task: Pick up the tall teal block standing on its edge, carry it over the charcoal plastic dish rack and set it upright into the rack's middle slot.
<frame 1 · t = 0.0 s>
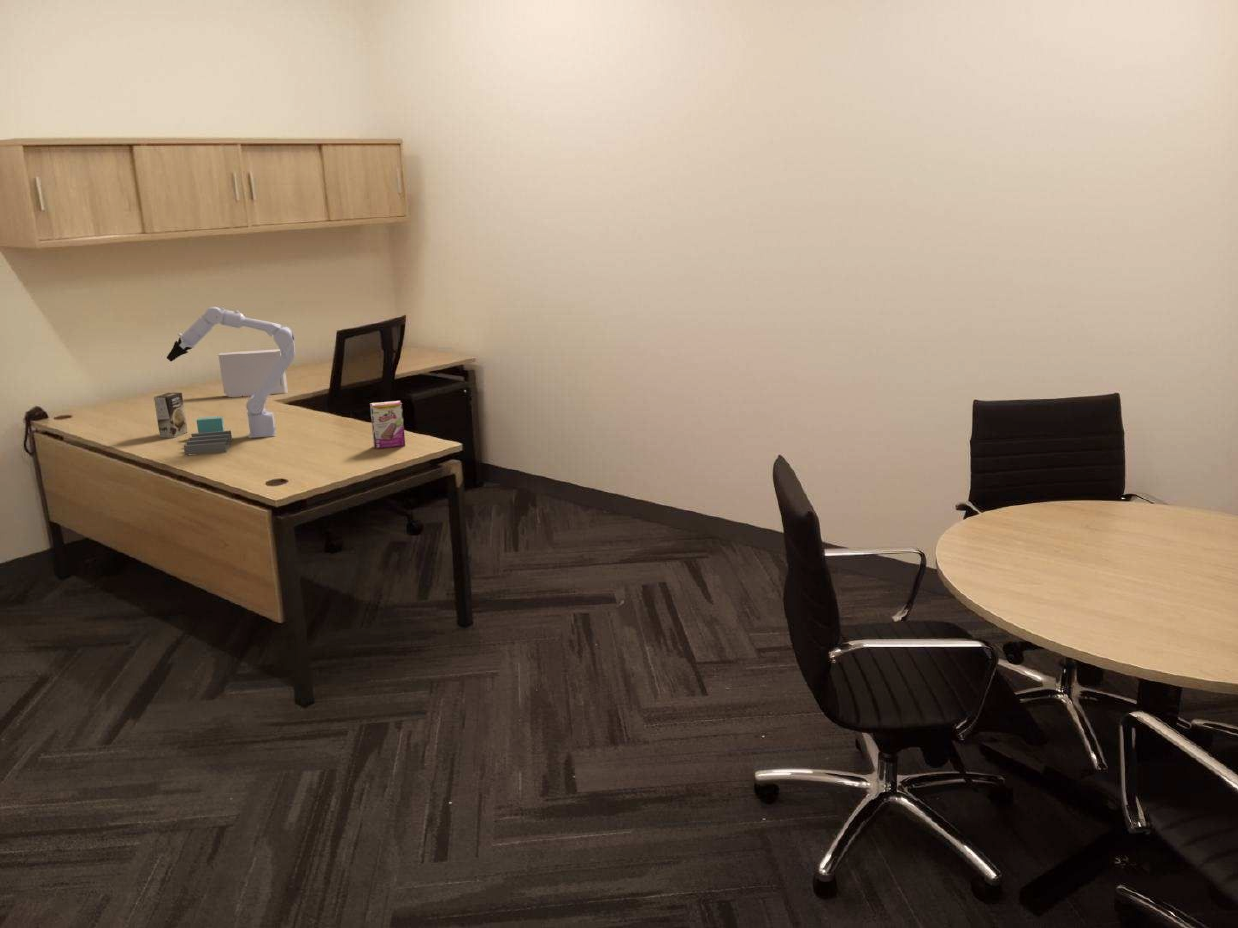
hand: (170, 357, 359), 32 cm above the table, tool tilted 50°, fingers open, 7 cm apart
rack: (209, 447, 359), on the table
tall teal block: (212, 436, 374), on the table
candy bar box: (389, 446, 355), on the table
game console: (256, 395, 445), on the table
coffee box: (174, 435, 378), on the table
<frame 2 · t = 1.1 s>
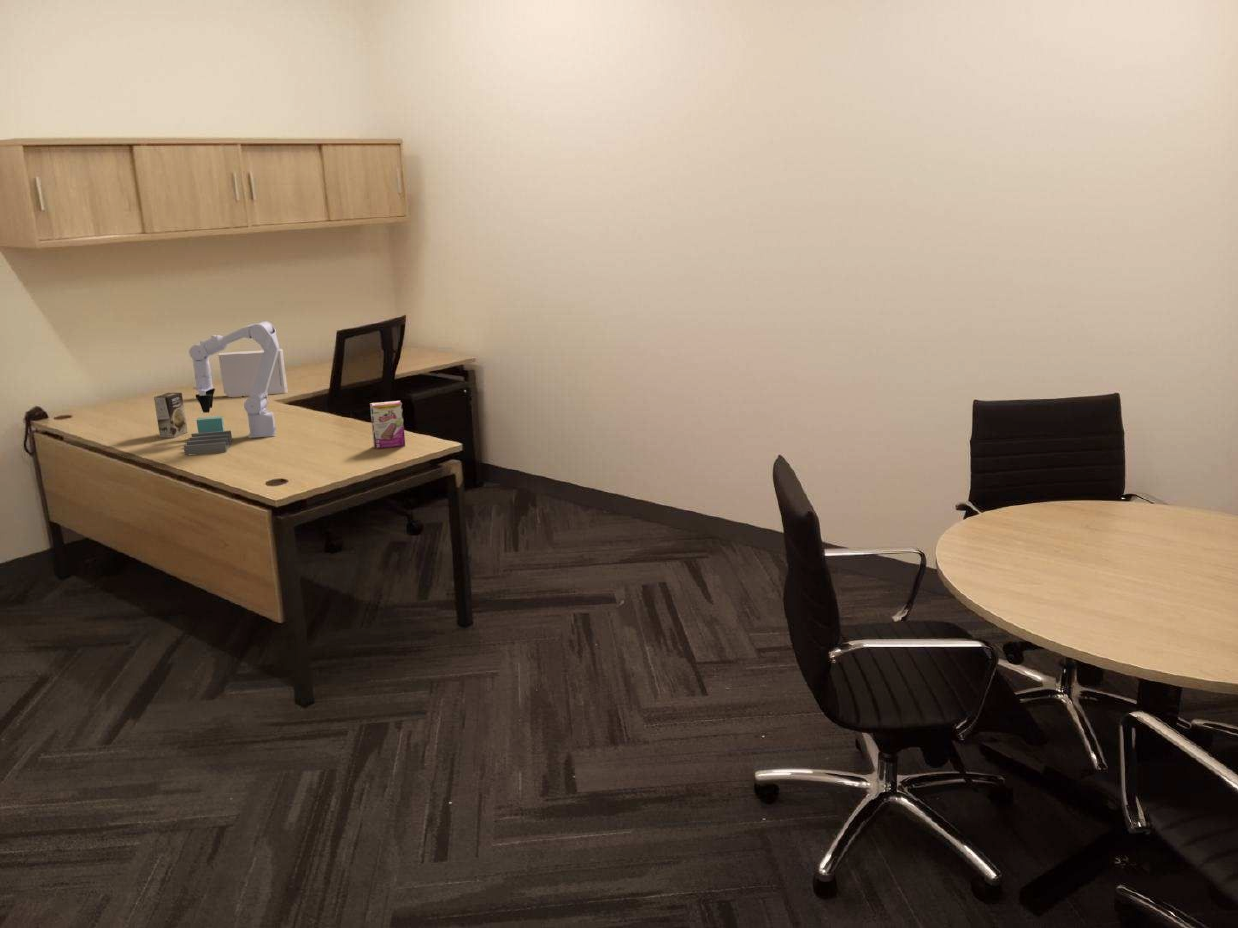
hand: (207, 410, 371), 11 cm above the table, tool pointing down, fingers open, 7 cm apart
nothing on the table moved.
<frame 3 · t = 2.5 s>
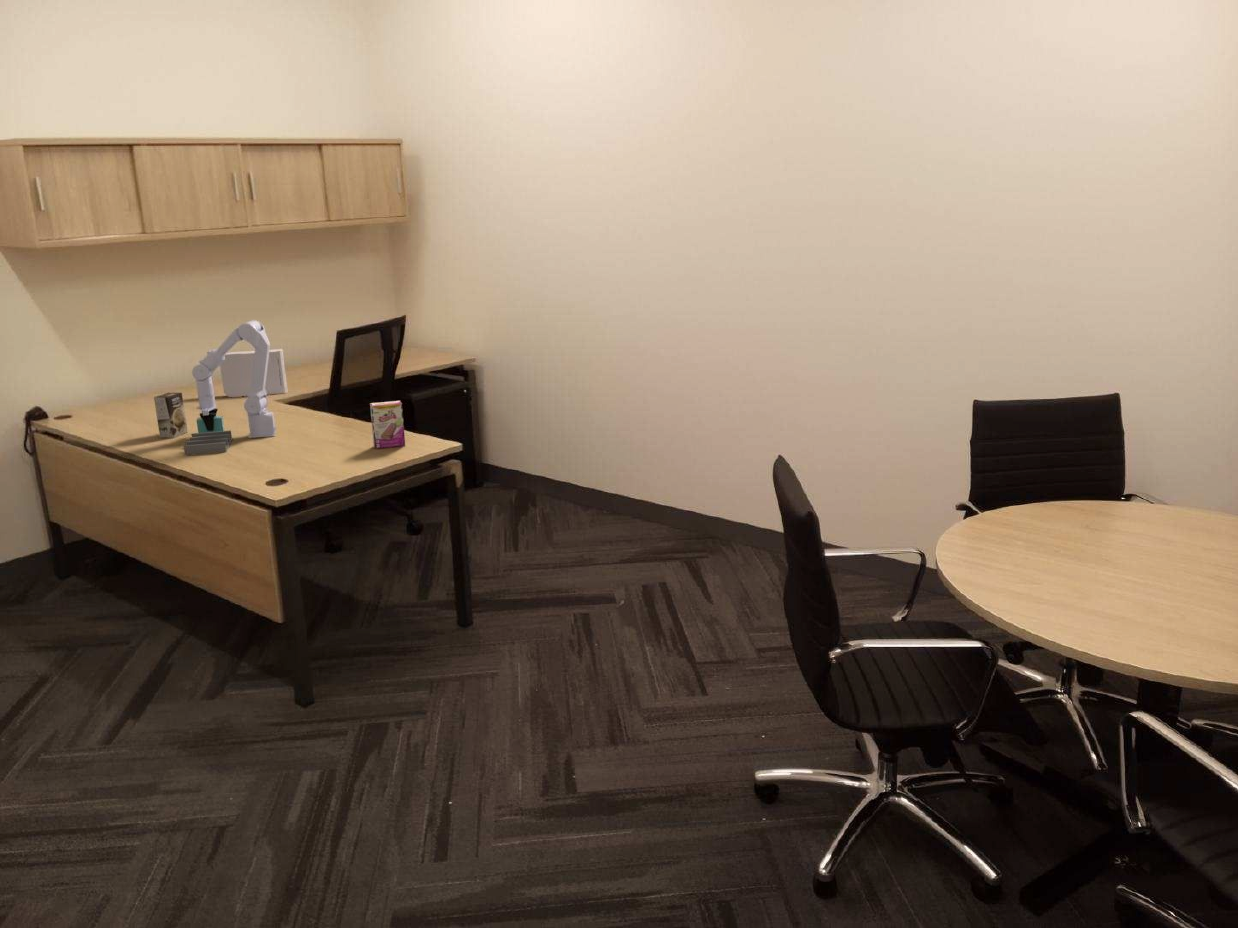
hand: (211, 429, 373), 3 cm above the table, tool pointing down, fingers closed on tall teal block, 3 cm apart
tall teal block: (212, 436, 374), on the table, touching gripper
everything else where it was.
when the fingers open (5 cm above the table, at t = 6.2 s): tall teal block stays where it is, resting on rack.
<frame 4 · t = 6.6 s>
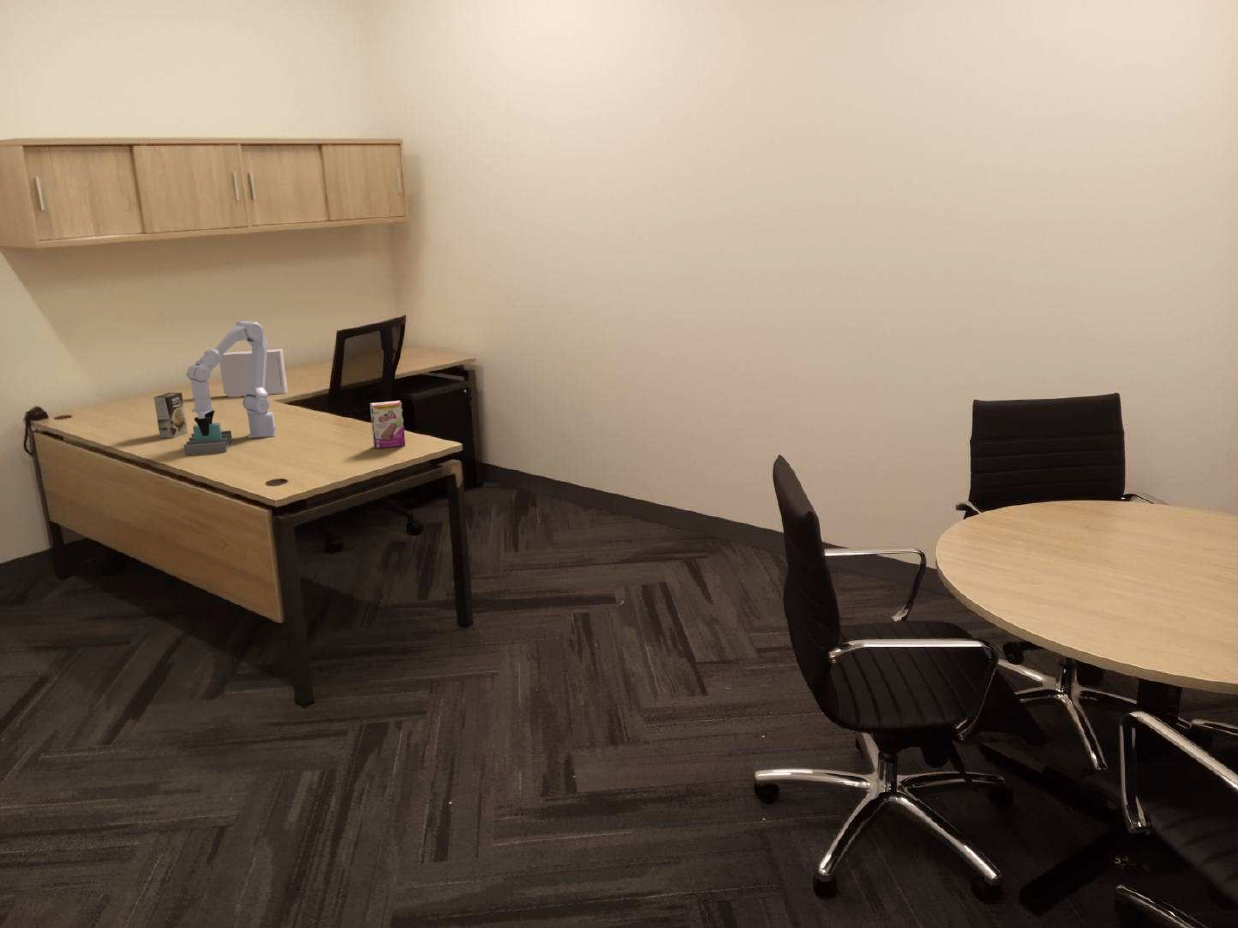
hand: (207, 433, 358), 5 cm above the table, tool pointing down, fingers open, 7 cm apart
tall teal block: (209, 444, 359), point 1 cm above the table, touching rack
everything else where it was.
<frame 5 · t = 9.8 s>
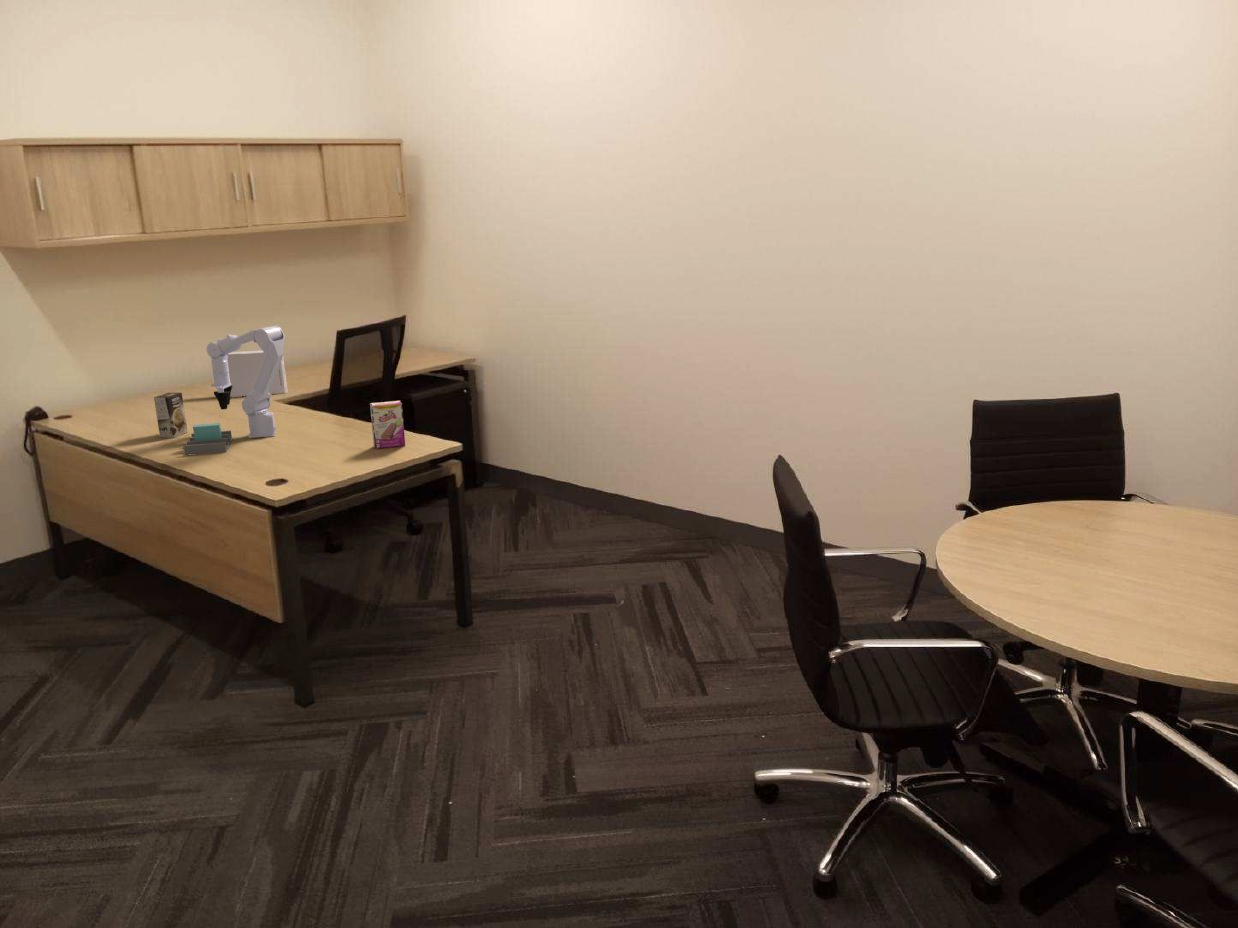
hand: (225, 406, 376), 10 cm above the table, tool pointing down, fingers open, 7 cm apart
nothing on the table moved.
at the end: tall teal block inside the target area on the rack (0.2 cm from its centre), point 1.0 cm above the rack's base; tall teal block tilted 0°; the gripper is holding nothing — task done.
